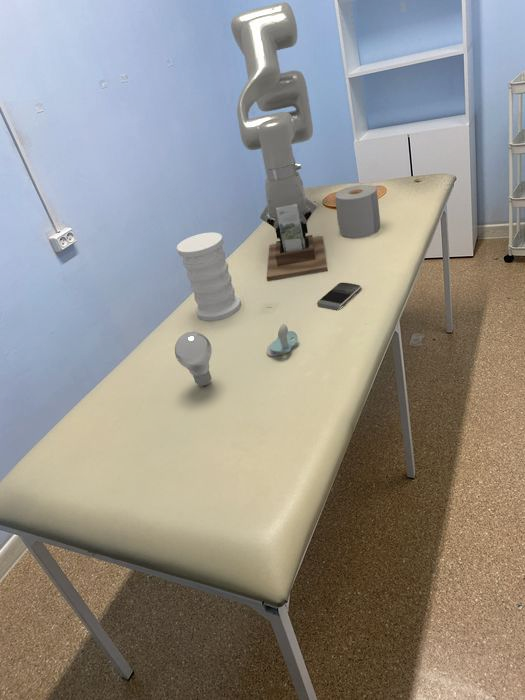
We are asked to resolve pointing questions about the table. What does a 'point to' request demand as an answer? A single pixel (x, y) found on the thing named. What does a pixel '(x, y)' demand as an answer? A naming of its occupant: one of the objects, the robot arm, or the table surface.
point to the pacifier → (282, 342)
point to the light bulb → (195, 356)
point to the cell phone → (338, 296)
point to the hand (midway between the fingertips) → (292, 237)
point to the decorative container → (209, 276)
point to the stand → (296, 259)
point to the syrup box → (290, 228)
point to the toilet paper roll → (358, 211)
